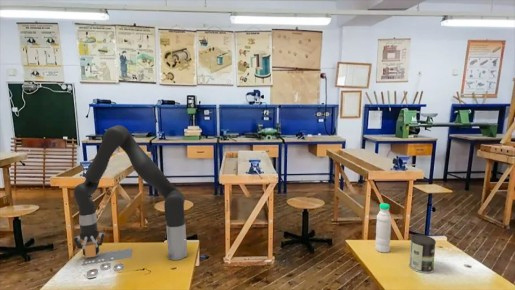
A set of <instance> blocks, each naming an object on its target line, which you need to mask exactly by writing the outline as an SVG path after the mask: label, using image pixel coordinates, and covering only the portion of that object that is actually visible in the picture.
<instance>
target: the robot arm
mask: <svg viewBox="0 0 515 290" xmlns="http://www.w3.org/2000/svg"><path fill="white" fill-rule="evenodd" d="M118 147H120V148H121V149H122V151H124V153H125V154H126V155H127V157H128V159H129V161H130V164H131V166H132V168H133V169H134V172H135V173H136V174H137V175H138V176H139V177H140V178H141V179H142V180H143V181H144V182H145V183H146V184H148V185H149V186H151V187H153V188H154V189H155V190H156V191H158V192H159V194H160V195H161V196H162V197H163V199H164V220H165V224H166V225H165V226H166V242H167V258H168V259H169V260H171V261H177V260H178V261H180V260H182V259H185V258H187V257H188V248H187V247H188V243H187V232H186V230H187V228H186V217H185V196H184V193H182V192H181V191H180V190H179V189H178V188H177V187H176V186H174V184H173V183H172V182H171V181H169V179H168V178H167V176H166V175H165V174H164V172H162V170H161V169H160V168H159V166H158V165H157V164H156V163H155V162H154V161H153V160H152V158H150V156H149V155H148V154H147V153H146V152H145V151H144V150H143V148H142V147H140V145H139V144H138V143H137V141H136V140H135V139H134V136H132V134H131V132H130V131H129V130H128V129H127V128H126V126H123V125H114V126H112V127H109V128H108V129H106V130H105V132H104V134H103V137H102V140H101V142H100V145H99V148H98V150H97V153H96V154H95V157H94V159H92V162H91V163H90V164H89V166H88V168H87V171H86V172H85V174H84V178H85V180H84V181H83V182H82V183H79V184H77V185H75V187H74V190H73V196H74V199H75V202H76V205H77V206H78V213H79V214H78V221H79V223H78V224H79V232H80V234H79V235H75V236H74V238H73V241H74V242H75V243H74V244H75V245H76V246H77V248H78V249H79V250H82V254H83V256H85V245H86V243H87V242H93V243H94V244H95V247H96V254H100V246H103V242H104V238H105V234H106V232H105V231H104V232H99V230H98V229H99V228H98V219H97V214H96V204H95V202H94V201H93V200H92V199H90V196H92V195H93V194H94V193H96V191H97V189H98V188H99V184H100V180H101V179H102V177H103V175H104V174H105V172H106V170H107V169H108V165H109V162H110V159H111V157H112V155H113V154H114V153H115V151H116V150H117V149H118ZM98 236H99V238H100V239H99V240H100V241H98V239H97V238H98ZM80 240H82V241H83V242H81V241H80Z"/></svg>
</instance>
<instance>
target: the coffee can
mask: <svg viewBox="0 0 515 290" xmlns="http://www.w3.org/2000/svg"><path fill="white" fill-rule="evenodd" d="M436 243H437V241H436V240H435V238H433V237H431V236H428V235H424V234H412V235H411V236H410V248H409V263H408V266H409V268H410V269H412V270H413V271H414V272H418V273H421V274H431V273H433V272H434V271H435V270H434V267H435V266H434V265H435V252H436Z"/></svg>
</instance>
